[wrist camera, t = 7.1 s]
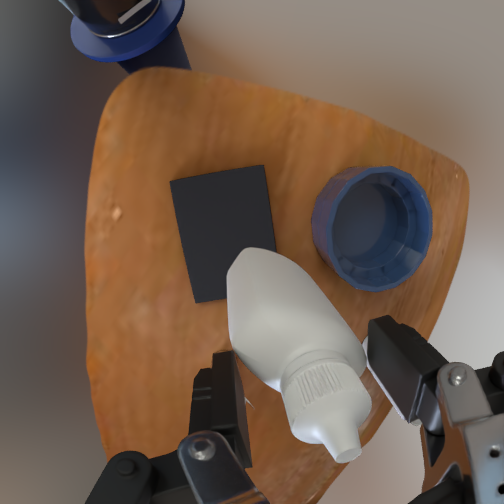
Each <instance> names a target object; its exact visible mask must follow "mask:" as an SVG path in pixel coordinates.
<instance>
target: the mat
mask: <svg viewBox="0 0 504 504" xmlns="http://www.w3.org/2000/svg"><path fill="white" fill-rule="evenodd" d="M170 187H171V192H172V198H173V203H174V208H175V213H176V218H177V223H178V228H179V233H180V238H181V243H182V247H183V252H184V256H185V261H186V265H187V270H188V274H189V278H190V282H191V286H192V291H193V295H194V299H195V303H200V302H207V301H213V300H219V299H225V298H227V273H228V270H229V269H230V267H231V266H232V264H233V263H234V261H235V260H236V258H237V257H238V255H239V254H240V252H241V251H243V250H244V249H245V248H250V247H253V248H260V249H265V250H269V251H272V252H275V253H276V245H275V238H274V231H273V224H272V217H271V210H270V203H269V196H268V190H267V183H266V176H265V170H264V165H258V166H251V167H245V168H238V169H232V170H226V171H220V172H215V173H209V174H204V175H198V176H193V177H188V178H183V179H178V180H174V181H170Z"/></svg>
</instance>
